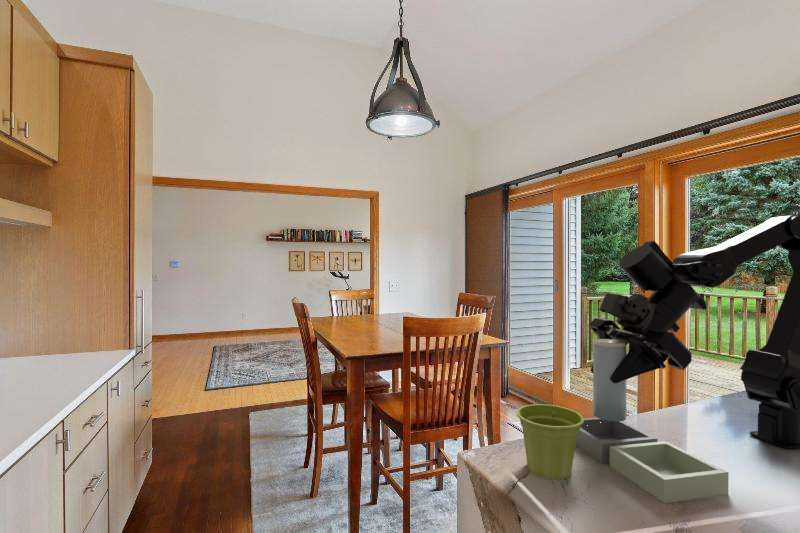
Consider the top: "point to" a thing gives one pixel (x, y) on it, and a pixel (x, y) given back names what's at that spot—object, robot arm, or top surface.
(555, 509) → the top surface
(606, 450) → the charcoal bin
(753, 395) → the robot arm
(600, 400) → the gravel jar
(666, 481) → the sage bin
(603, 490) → the top surface
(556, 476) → the plant pot
